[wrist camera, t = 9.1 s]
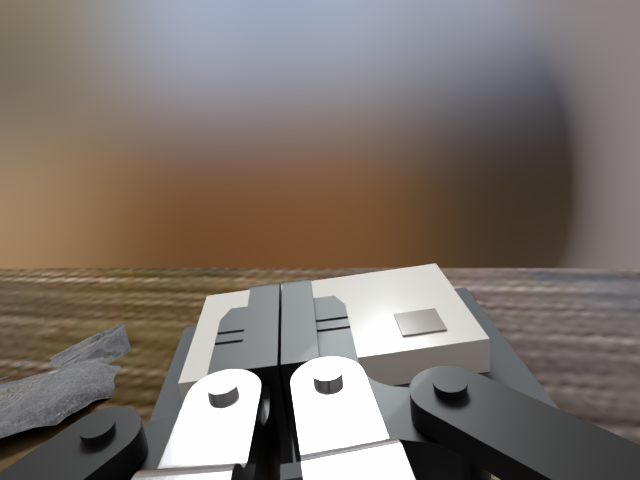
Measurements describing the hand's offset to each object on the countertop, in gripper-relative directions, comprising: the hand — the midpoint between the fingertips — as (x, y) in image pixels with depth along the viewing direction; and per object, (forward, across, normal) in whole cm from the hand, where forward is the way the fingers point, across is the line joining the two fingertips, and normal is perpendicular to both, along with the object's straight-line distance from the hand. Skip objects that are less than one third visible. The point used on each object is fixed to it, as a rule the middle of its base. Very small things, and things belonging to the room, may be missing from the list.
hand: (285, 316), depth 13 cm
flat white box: (+11, -1, +10) cm, 15 cm away
